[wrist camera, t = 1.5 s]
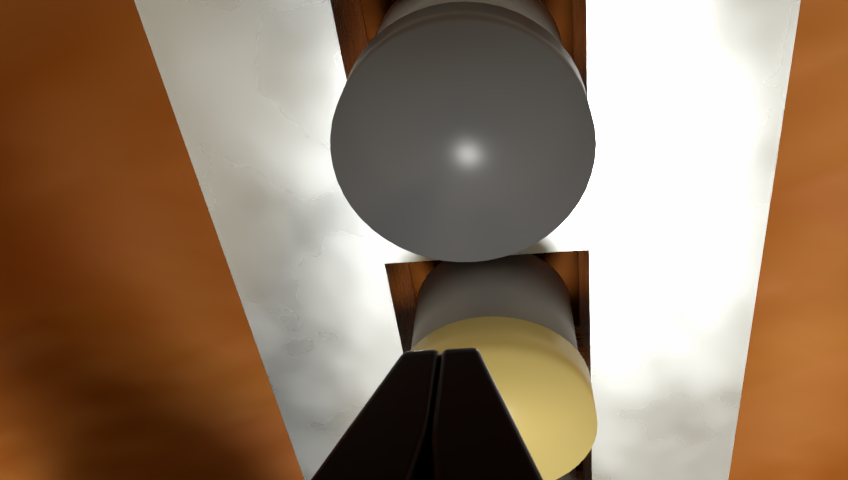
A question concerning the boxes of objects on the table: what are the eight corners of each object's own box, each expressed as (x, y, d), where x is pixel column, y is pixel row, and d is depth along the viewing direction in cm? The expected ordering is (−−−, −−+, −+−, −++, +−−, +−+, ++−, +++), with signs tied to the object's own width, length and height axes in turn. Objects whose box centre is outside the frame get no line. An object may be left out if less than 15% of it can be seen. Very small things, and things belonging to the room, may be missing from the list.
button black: (574, 149, 17) (596, 253, 14) (382, 165, 18) (357, 269, 14) (569, -56, 15) (595, 8, 11) (345, -28, 15) (303, 41, 12)
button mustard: (579, 365, 21) (597, 489, 18) (421, 373, 22) (409, 494, 18) (576, 233, 18) (597, 348, 15) (397, 246, 19) (378, 359, 16)
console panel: (694, 484, 27) (716, 560, 24) (348, 493, 28) (334, 564, 26) (767, -167, 15) (823, -147, 12) (170, -83, 17) (116, -52, 14)
